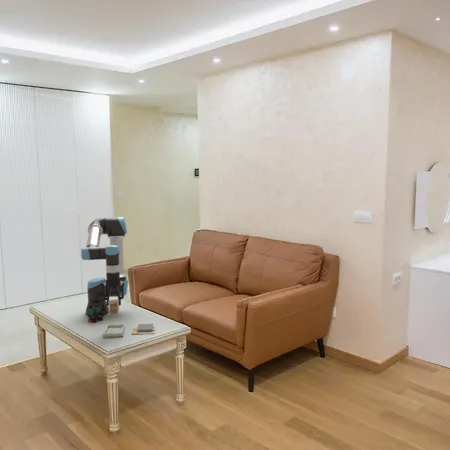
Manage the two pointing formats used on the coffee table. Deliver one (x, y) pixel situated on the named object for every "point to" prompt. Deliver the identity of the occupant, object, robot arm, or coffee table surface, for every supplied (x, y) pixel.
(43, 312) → the coffee table surface
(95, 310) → the binoculars
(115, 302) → the block
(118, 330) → the tray
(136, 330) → the cork mat
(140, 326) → the grey square tile
